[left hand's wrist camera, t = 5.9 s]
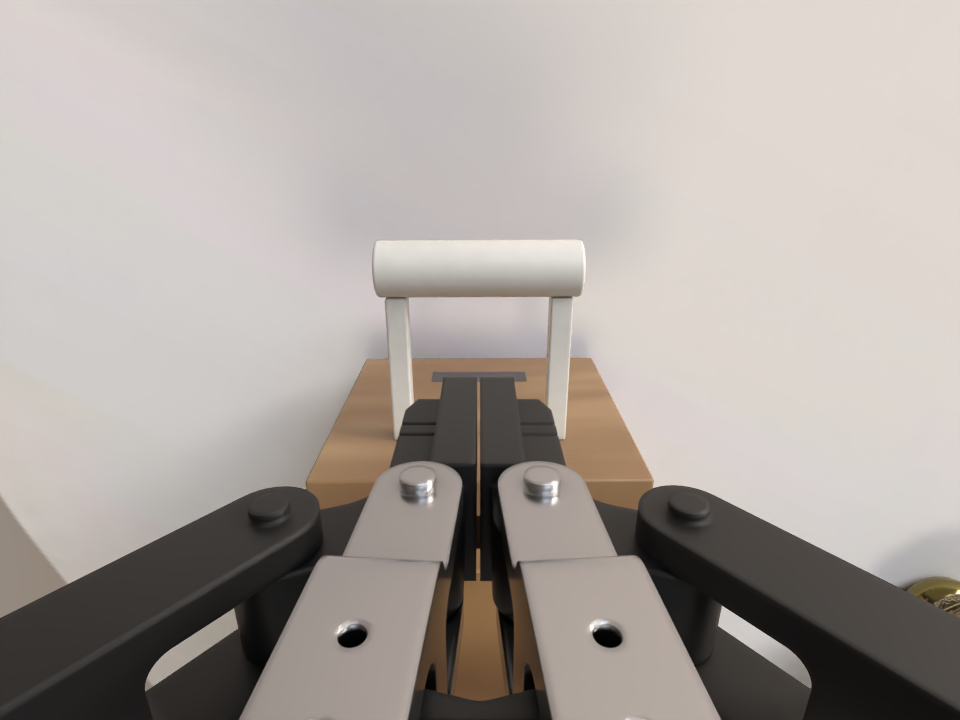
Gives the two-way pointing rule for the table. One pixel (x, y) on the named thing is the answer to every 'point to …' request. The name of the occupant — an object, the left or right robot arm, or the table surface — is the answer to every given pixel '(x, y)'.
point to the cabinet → (479, 644)
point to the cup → (939, 593)
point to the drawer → (479, 368)
